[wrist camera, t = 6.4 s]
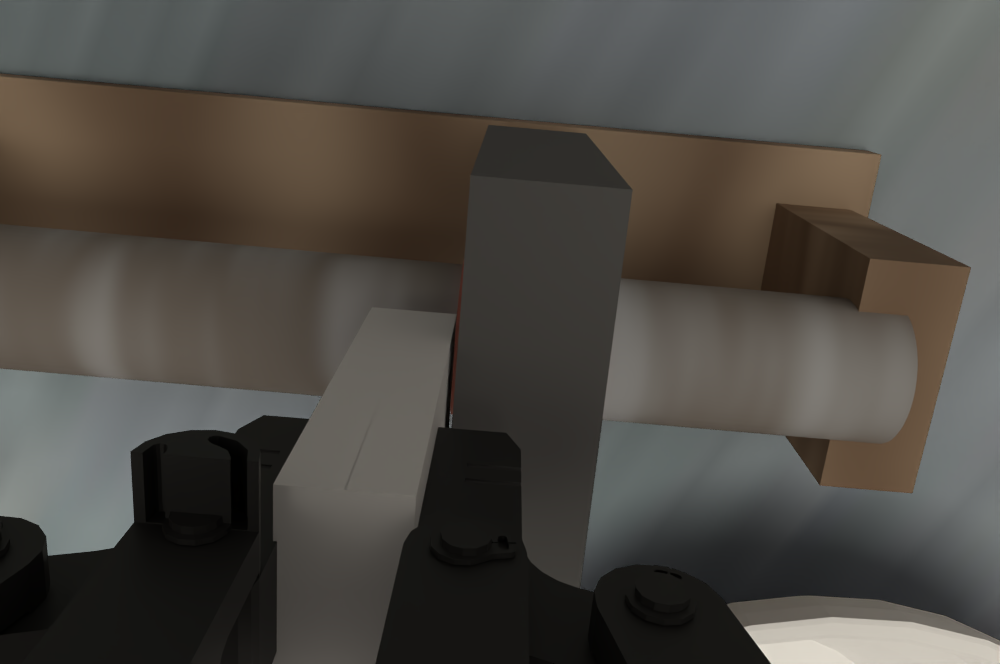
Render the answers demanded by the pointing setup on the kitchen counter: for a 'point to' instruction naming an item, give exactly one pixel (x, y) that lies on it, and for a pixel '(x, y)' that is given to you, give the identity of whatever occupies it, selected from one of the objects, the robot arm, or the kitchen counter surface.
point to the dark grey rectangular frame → (542, 322)
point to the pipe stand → (460, 261)
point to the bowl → (859, 633)
